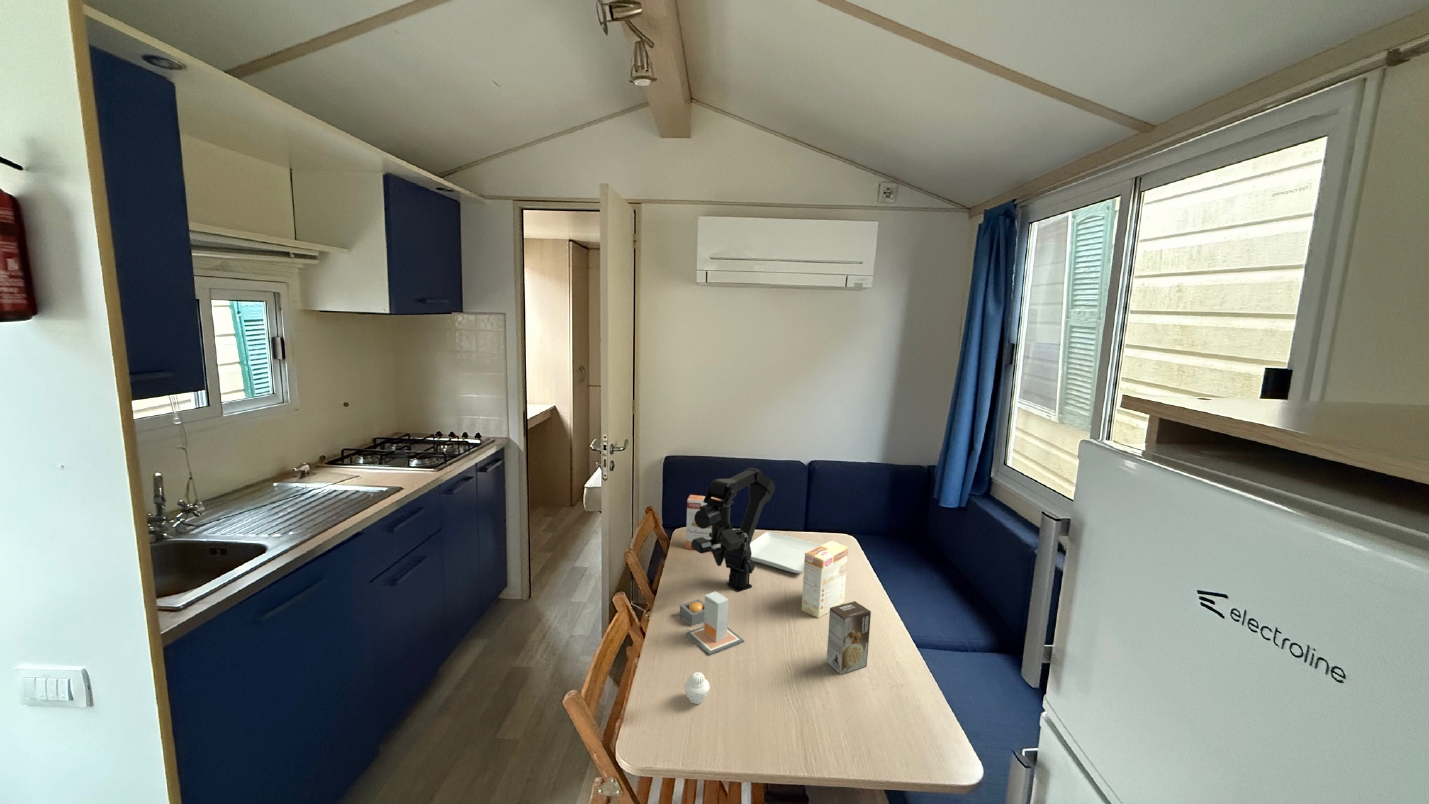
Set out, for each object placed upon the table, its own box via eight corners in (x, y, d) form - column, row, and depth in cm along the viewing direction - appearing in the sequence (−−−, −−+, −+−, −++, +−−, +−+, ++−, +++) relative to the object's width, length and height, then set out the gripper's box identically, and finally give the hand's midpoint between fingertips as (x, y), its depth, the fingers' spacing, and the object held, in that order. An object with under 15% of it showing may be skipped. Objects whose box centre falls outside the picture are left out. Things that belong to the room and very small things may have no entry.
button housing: (698, 609, 176) (698, 599, 176) (711, 619, 171) (711, 608, 170) (679, 615, 172) (679, 605, 172) (691, 626, 167) (692, 615, 166)
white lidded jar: (695, 687, 139) (696, 662, 138) (714, 699, 135) (715, 672, 134) (678, 700, 135) (679, 674, 133) (697, 712, 131) (698, 685, 130)
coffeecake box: (827, 594, 189) (830, 539, 186) (845, 602, 184) (849, 546, 181) (800, 609, 178) (803, 552, 175) (818, 619, 173) (822, 559, 170)
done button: (697, 609, 174) (697, 600, 173) (704, 615, 171) (704, 606, 170) (686, 613, 172) (686, 604, 171) (693, 619, 168) (693, 609, 168)
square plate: (828, 554, 222) (828, 545, 221) (801, 580, 199) (801, 570, 198) (766, 538, 236) (767, 529, 235) (734, 561, 213) (735, 551, 212)
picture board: (719, 622, 169) (719, 620, 169) (744, 642, 159) (744, 639, 159) (686, 634, 162) (686, 632, 162) (709, 655, 153) (709, 653, 152)
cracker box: (685, 549, 220) (686, 498, 217) (688, 543, 226) (689, 494, 223) (720, 553, 218) (722, 502, 215) (722, 547, 224) (724, 497, 221)
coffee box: (851, 653, 156) (855, 600, 153) (867, 666, 150) (872, 611, 148) (825, 661, 152) (829, 607, 149) (840, 675, 146) (845, 618, 144)
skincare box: (702, 633, 162) (704, 594, 160) (713, 628, 165) (715, 590, 163) (716, 643, 157) (717, 603, 155) (727, 638, 160) (729, 599, 158)
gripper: (711, 533, 166) (709, 582, 169) (759, 522, 177) (757, 568, 179) (690, 521, 175) (689, 568, 177) (738, 511, 186) (736, 555, 188)
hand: (719, 565), depth 180 cm, fingers closed
